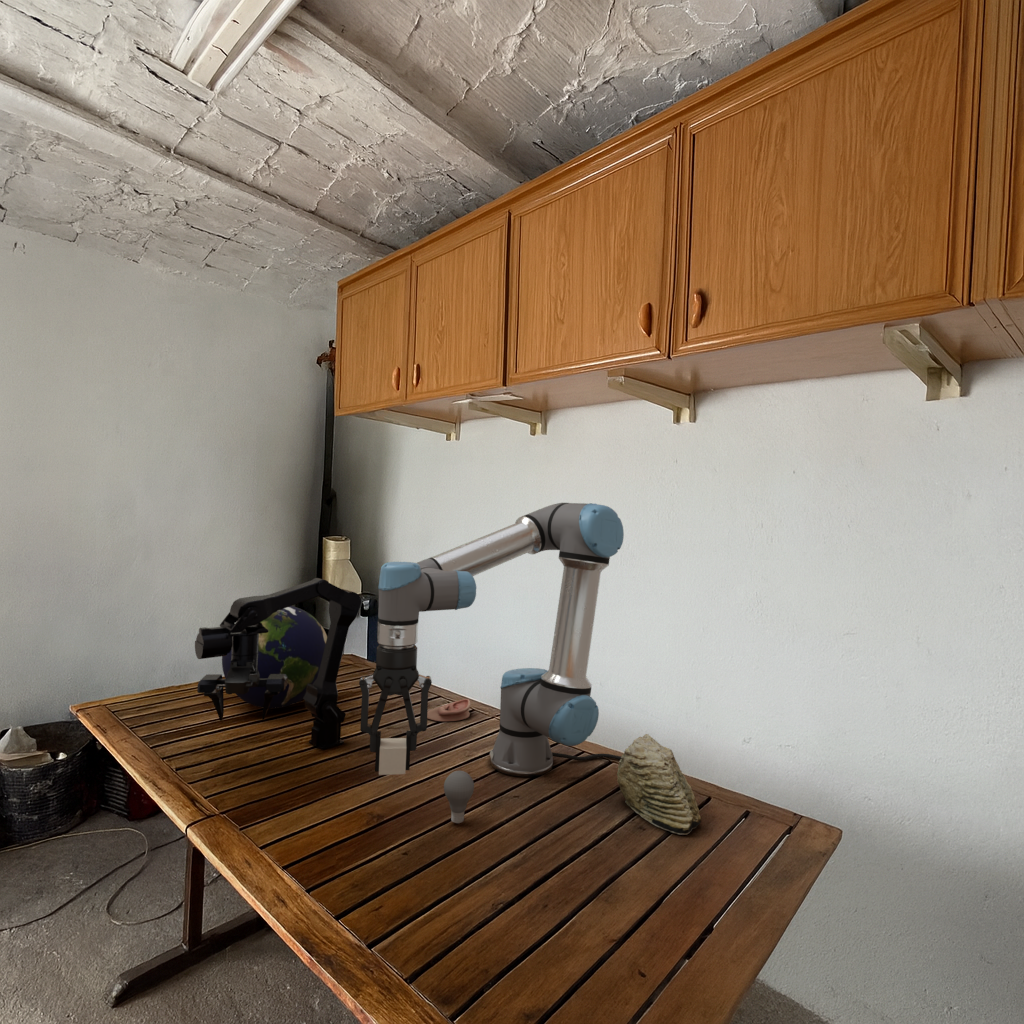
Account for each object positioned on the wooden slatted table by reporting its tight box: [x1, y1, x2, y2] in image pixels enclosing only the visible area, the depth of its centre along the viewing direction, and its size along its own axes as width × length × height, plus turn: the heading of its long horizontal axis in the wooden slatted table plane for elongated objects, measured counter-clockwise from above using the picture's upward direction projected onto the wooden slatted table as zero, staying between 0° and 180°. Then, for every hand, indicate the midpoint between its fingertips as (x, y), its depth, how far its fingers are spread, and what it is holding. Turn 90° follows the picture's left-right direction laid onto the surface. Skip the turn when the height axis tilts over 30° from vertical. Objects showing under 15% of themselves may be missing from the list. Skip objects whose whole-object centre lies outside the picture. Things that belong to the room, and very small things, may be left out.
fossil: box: [616, 733, 702, 836], centre depth 132 cm, size 9×18×15 cm, turn 46°
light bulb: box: [443, 770, 475, 824], centre depth 125 cm, size 6×6×10 cm
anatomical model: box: [427, 698, 471, 722], centre depth 187 cm, size 13×4×12 cm
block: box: [378, 737, 407, 776], centre depth 119 cm, size 5×5×5 cm
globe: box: [221, 605, 328, 709], centre depth 188 cm, size 30×30×30 cm
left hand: (242, 719), depth 148 cm, fingers open, 9 cm apart
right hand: (392, 767), depth 119 cm, fingers closed on block, 5 cm apart
